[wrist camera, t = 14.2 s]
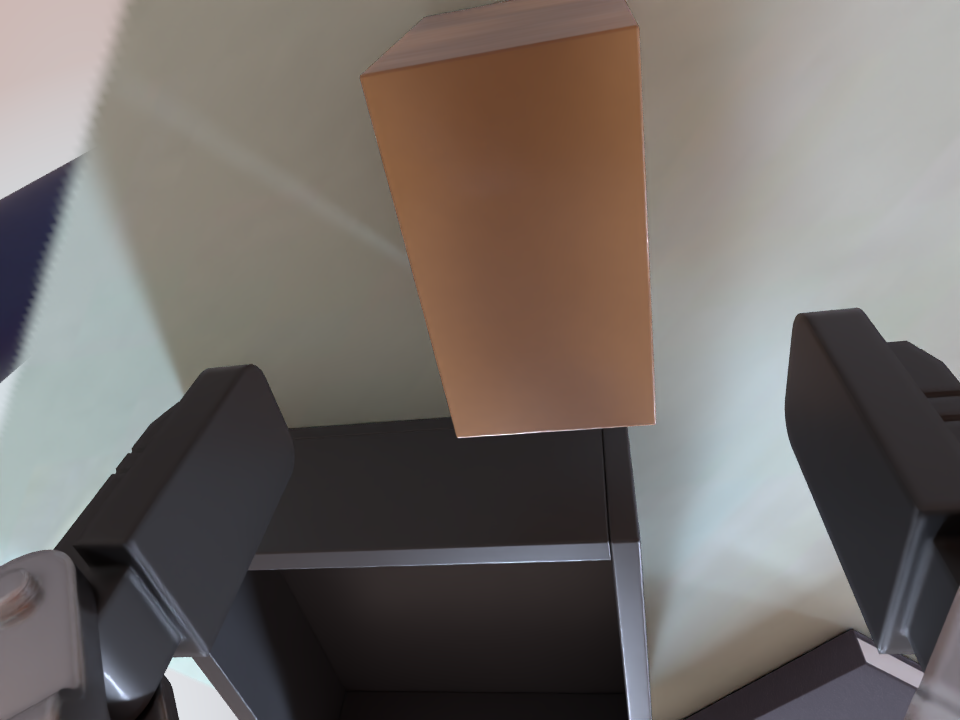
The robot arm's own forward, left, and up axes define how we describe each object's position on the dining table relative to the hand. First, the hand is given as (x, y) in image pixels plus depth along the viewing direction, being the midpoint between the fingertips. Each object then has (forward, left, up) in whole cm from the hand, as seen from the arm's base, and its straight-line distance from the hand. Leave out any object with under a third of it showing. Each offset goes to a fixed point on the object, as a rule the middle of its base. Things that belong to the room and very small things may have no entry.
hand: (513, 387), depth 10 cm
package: (0, 0, -9) cm, 9 cm away
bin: (-6, -17, -9) cm, 20 cm away
